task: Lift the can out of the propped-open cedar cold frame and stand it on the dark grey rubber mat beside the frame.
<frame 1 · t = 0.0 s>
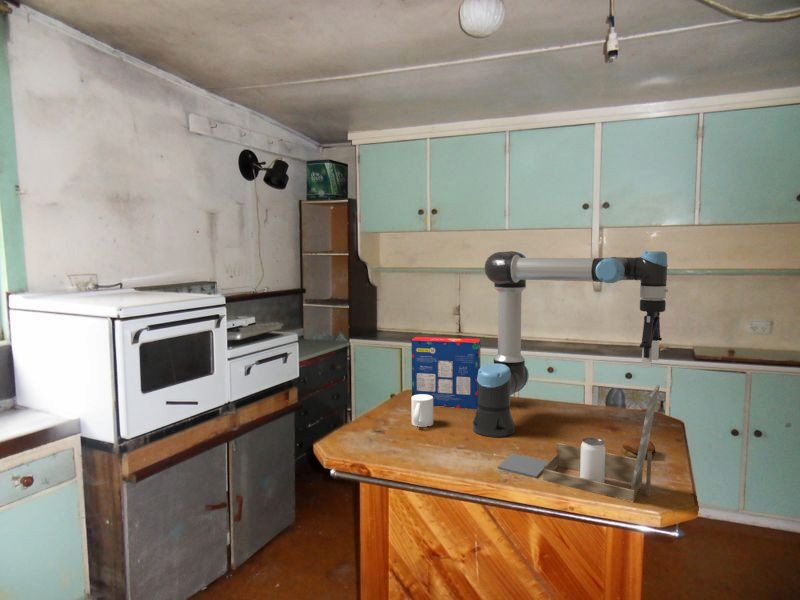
hand: (650, 363, 170), 28 cm above the countertop, fingers open, 13 cm apart
mat: (524, 466, 159), on the countertop
blue board game box: (446, 404, 222), on the countertop
cold frame: (592, 482, 147), on the countertop
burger: (638, 455, 167), on the countertop
mug: (420, 425, 196), on the countertop
can: (591, 482, 148), resting in cold frame
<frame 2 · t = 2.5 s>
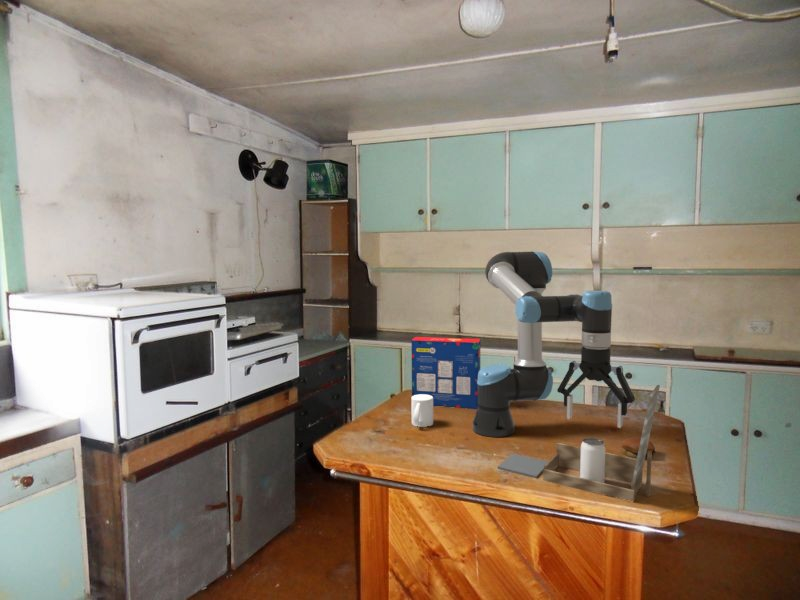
hand: (594, 422, 146), 18 cm above the countertop, fingers open, 13 cm apart
nothing on the countertop moved.
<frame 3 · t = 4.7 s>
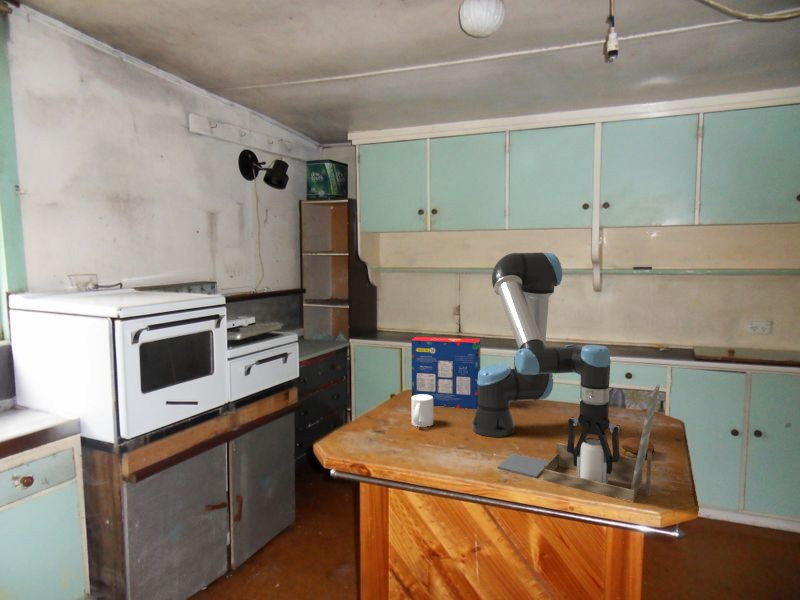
hand: (592, 480, 147), 0 cm above the countertop, fingers closed on can, 6 cm apart
can: (591, 482, 148), resting in cold frame, touching gripper
everything else where it was.
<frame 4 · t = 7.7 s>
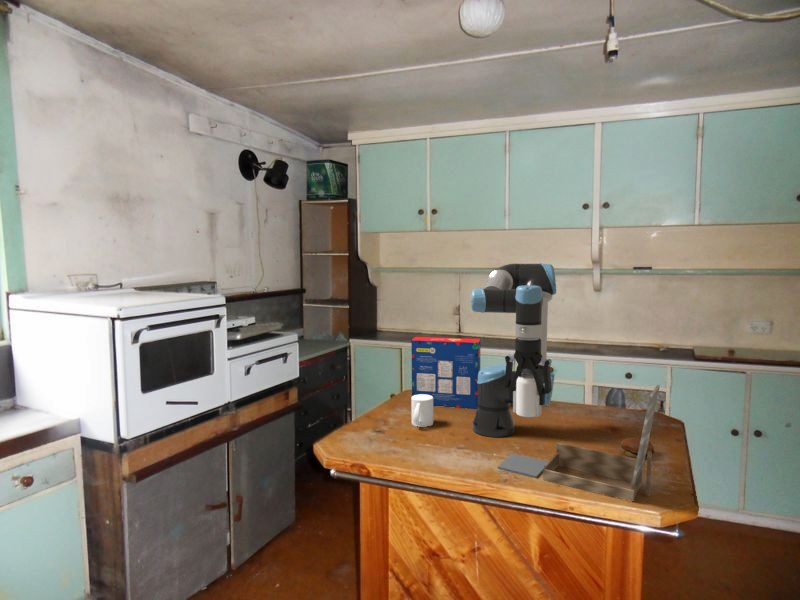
hand: (527, 413, 157), 17 cm above the countertop, fingers closed on can, 6 cm apart
can: (527, 415, 157), point 16 cm above the countertop, touching gripper
everything else where it was.
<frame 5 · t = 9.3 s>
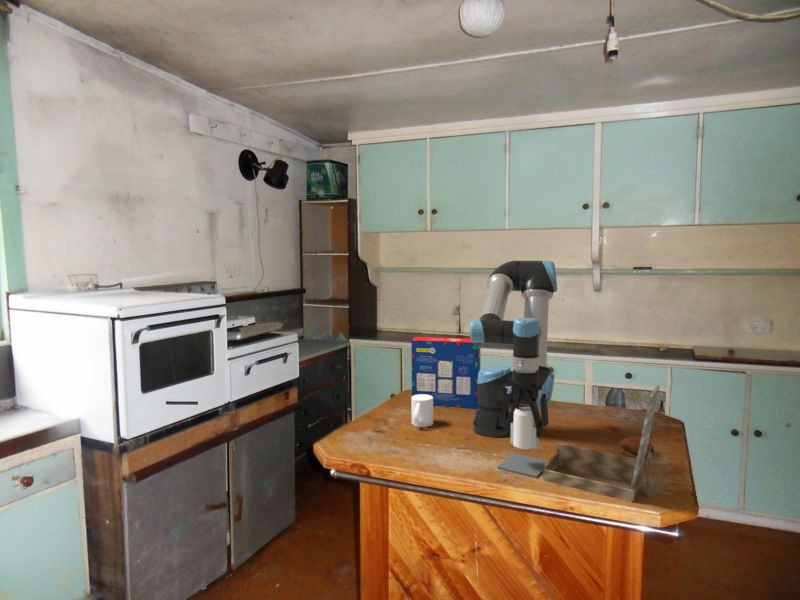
hand: (524, 444, 158), 7 cm above the countertop, fingers closed on can, 6 cm apart
can: (524, 447, 158), point 6 cm above the countertop, touching gripper
everything else where it was.
when the fingers open (3 cm above the countertop, at t = 10.7 s): can drops 2 cm, resting on mat.
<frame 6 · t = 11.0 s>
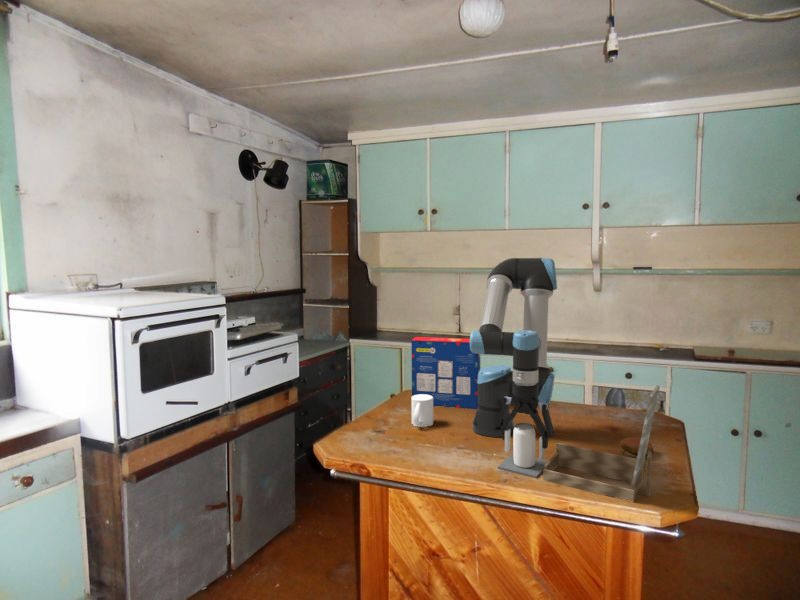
hand: (524, 454, 158), 4 cm above the countertop, fingers open, 10 cm apart
can: (524, 464, 159), point 1 cm above the countertop, touching mat
everything else where it was.
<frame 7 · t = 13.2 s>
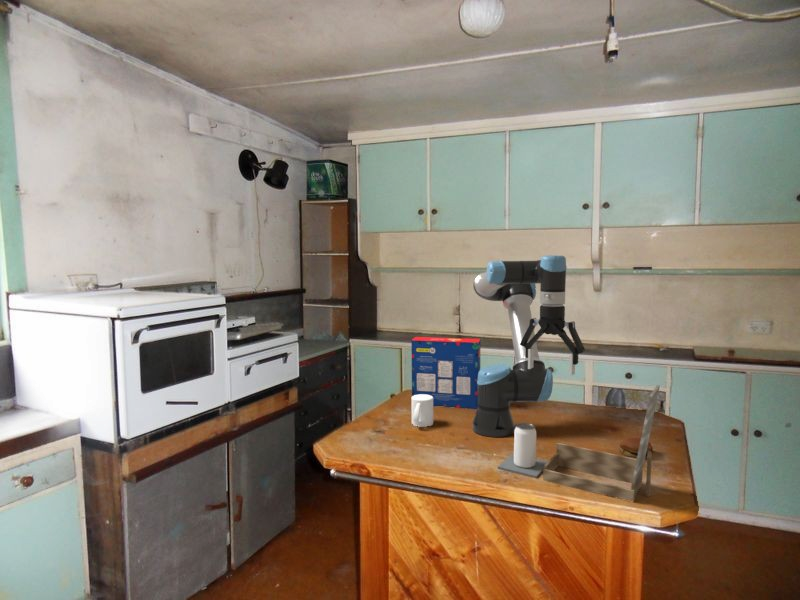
hand: (550, 371, 165), 27 cm above the countertop, fingers open, 13 cm apart
nothing on the countertop moved.
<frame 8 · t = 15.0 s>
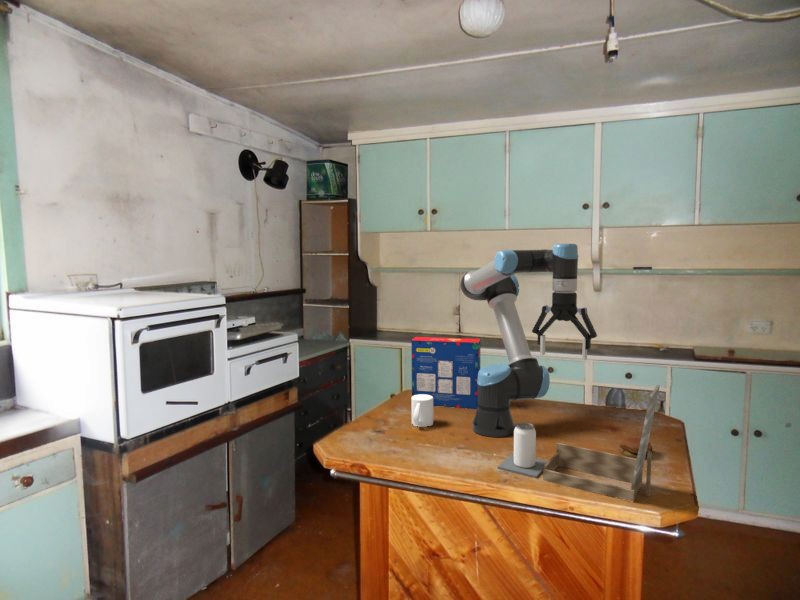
hand: (563, 357, 169), 31 cm above the countertop, fingers open, 13 cm apart
nothing on the countertop moved.
at the end: can inside the target area on the mat (0.1 cm from its centre), point 0.4 cm above the mat's base; can tilted 0°; the gripper is holding nothing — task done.
